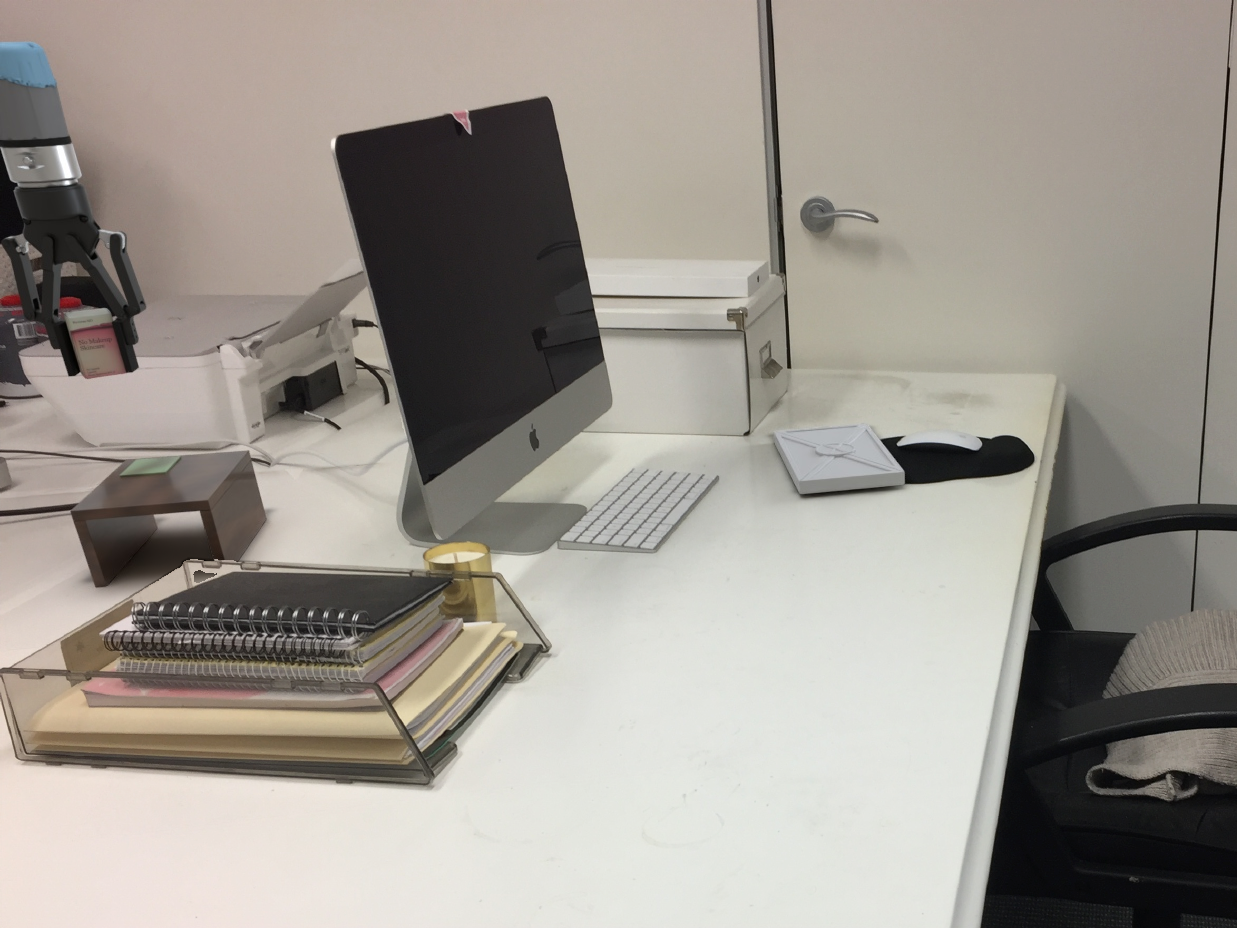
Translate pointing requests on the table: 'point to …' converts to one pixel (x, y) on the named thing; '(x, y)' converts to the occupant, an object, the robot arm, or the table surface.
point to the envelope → (837, 458)
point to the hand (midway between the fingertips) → (104, 371)
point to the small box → (94, 343)
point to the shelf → (169, 507)
